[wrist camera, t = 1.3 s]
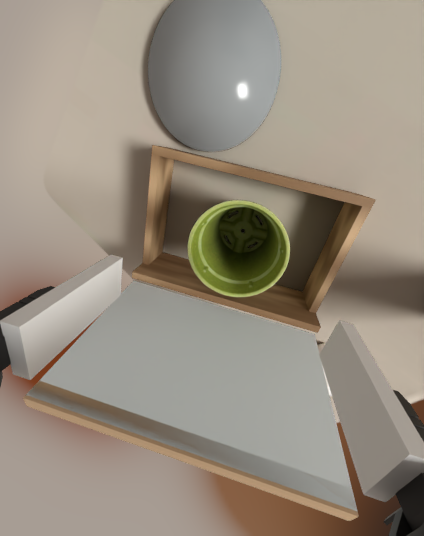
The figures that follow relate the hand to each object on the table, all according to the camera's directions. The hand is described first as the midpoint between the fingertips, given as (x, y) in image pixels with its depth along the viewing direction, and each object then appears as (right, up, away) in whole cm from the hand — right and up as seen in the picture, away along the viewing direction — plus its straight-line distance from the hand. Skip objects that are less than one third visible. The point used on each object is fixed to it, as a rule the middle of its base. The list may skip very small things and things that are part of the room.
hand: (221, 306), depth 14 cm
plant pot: (+3, +7, +15) cm, 17 cm away
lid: (-1, -5, +6) cm, 8 cm away
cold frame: (+3, +7, +15) cm, 17 cm away
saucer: (-1, +21, +9) cm, 23 cm away
